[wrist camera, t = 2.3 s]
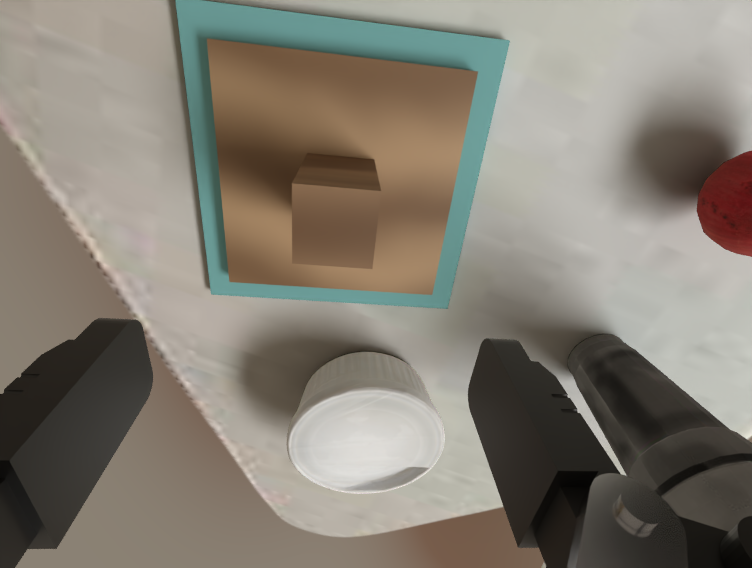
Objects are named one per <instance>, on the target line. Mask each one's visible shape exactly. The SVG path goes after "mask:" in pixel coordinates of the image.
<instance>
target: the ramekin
mask: <svg viewBox="0 0 752 568" xmlns="http://www.w3.org/2000/svg"><path fill="white" fill-rule="evenodd" d="M444 442H445V433H444V427H443V423H442V419H441V416H440V414H439V412H438V410H437V409H436V407H435V406H434V404H433V403H432V401H431V399H430V397H429V394H428V392H427V390H426V388H425V385H424V383H423V382H422V380H421V378H420V376H419V375H418V374H417V372H416V371H415V370H414V369H413V368H412V367H411V366H409V365H408V364H407V363H405V362H404V361H401V360H400V359H398V358H395V357H393V356H390V355H386V354H382V353H377V352H356V353H351V354H347V355H343V356H341V357H338V358H335V359H334V360H332V361H329V362H328V363H327V364H325V365H323V366H322V367H321V368H320V369H319V370H317V371H316V372H315V374H314V375H313V376H312V377H311V378H310V380H309V381H308V383H307V385H306V388H305V390H304V393H303V396H302V398H301V401H300V404H299V407H298V410H297V411H296V413H295V414H294V416H293V418H292V420H291V423H290V425H289V429H288V434H287V451H288V455H289V458H290V461H291V462H292V464H293V465H294V466H295V468H296V469H297V470H298V471H299V472H300V473H301V474H302V475H303V476H305V477H306V478H307V479H309V480H310V481H312V482H314V483H316V484H318V485H320V486H322V487H325V488H328V489H331V490H335V491H340V492H346V493H356V494H367V493H378V492H385V491H389V490H393V489H396V488H400V487H402V486H405V485H407V484H410V483H412V482H413V481H415V480H417V479H419V478H420V477H422V476H423V475H424V474H426V473H427V472H428V471H429V470H430V469H431V468H432V467H433V466H434V465H435V463H436V462H437V460H438V459H439V457H440V455H441V453H442V451H443V447H444Z"/></svg>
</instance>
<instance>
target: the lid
mask: <svg viewBox="0 0 752 568" xmlns="http://www.w3.org/2000/svg"><path fill="white" fill-rule="evenodd" d="M207 47H208V58H209V69H210V80H211V90H212V101H213V112H214V123H215V133H216V144H217V155H218V166H219V176H220V187H221V198H222V209H223V219H224V230H225V241H226V251H227V262H228V273H229V282H236V283H251V284H267V285H282V286H298V287H314V288H329V289H345V290H361V291H376V292H392V293H407V294H423V295H432V294H433V289H434V284H435V279H436V275H437V270H438V265H439V260H440V255H441V250H442V245H443V240H444V236H445V231H446V226H447V221H448V216H449V211H450V206H451V202H452V197H453V192H454V187H455V182H456V177H457V172H458V168H459V163H460V158H461V153H462V148H463V143H464V138H465V134H466V129H467V124H468V119H469V114H470V109H471V104H472V99H473V95H474V90H475V85H476V80H477V75H478V71H470V70H462V69H454V68H445V67H437V66H429V65H421V64H413V63H404V62H396V61H388V60H380V59H372V58H363V57H355V56H347V55H339V54H331V53H322V52H314V51H306V50H298V49H290V48H281V47H273V46H265V45H257V44H249V43H240V42H232V41H224V40H216V39H208V38H207Z"/></svg>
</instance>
